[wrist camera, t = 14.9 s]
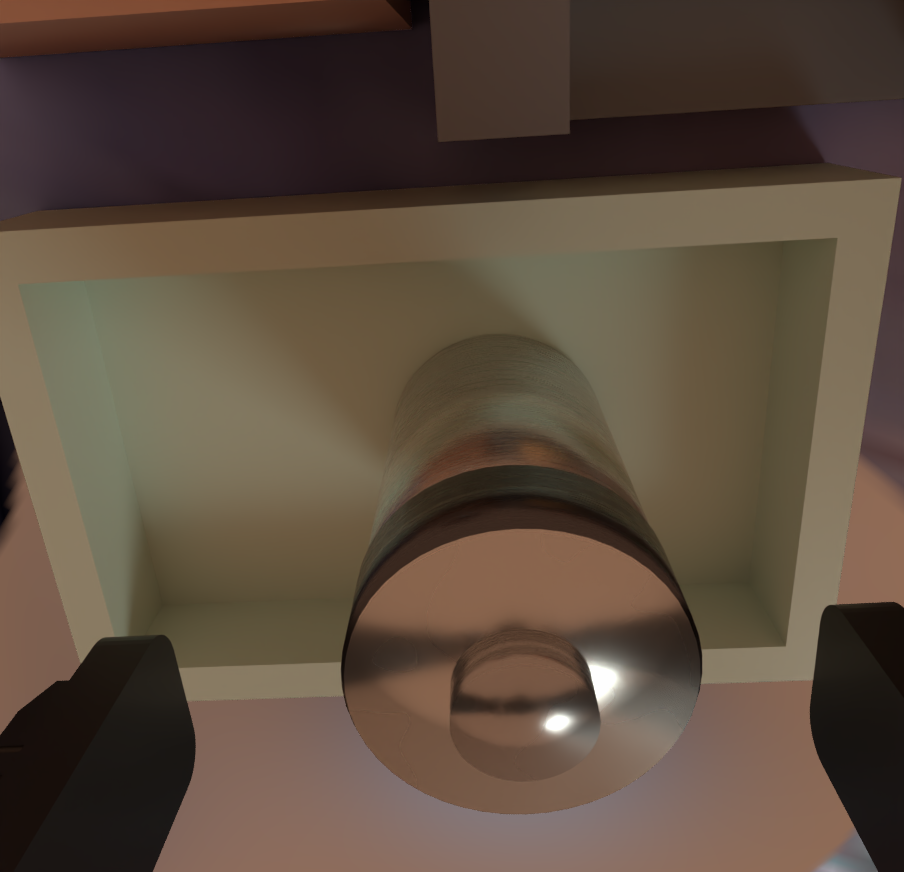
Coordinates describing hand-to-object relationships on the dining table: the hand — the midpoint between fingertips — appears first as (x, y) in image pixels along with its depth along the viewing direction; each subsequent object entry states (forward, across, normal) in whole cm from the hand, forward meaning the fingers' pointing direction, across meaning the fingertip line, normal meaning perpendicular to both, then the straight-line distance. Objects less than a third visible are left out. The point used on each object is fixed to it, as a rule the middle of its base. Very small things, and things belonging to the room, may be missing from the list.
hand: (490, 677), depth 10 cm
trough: (+7, +1, -1) cm, 7 cm away
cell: (+6, 0, -1) cm, 6 cm away
